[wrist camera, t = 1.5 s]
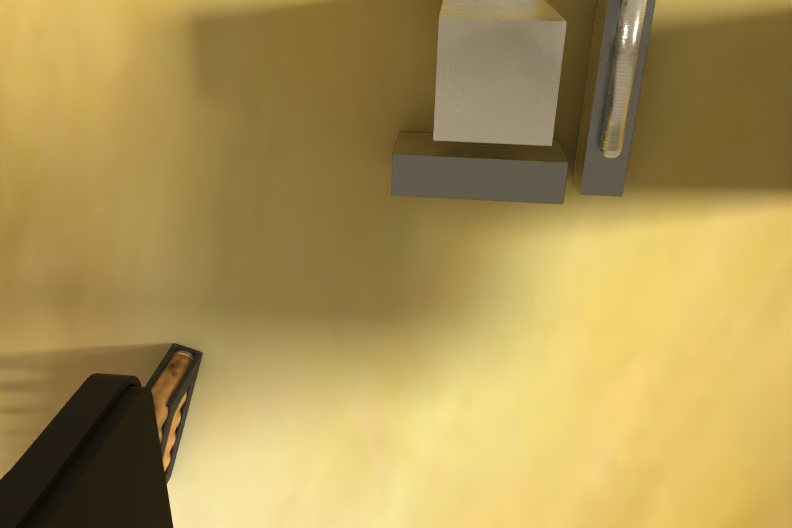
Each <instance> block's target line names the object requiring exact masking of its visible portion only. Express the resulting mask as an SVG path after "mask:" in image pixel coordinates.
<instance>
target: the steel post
mask: <svg viewBox="0 0 792 528" xmlns="http://www.w3.org/2000/svg"><path fill="white" fill-rule="evenodd" d="M566 26H567V21H566V20H565V19H564V18H563V17H562V16H561V15H560V14H558V13H557V12H556V11H555V10H554V9H553V8H552V7H551V6H550V5H549V4H548V3H547V2H546V1H545V0H443V1H442V6H441V10H440V15H439V28H438V49H437V70H436V90H435V111H434V131H433V140H435V141H456V142H478V143H499V144H520V145H542V146H552V140H553V132H554V124H555V116H556V107H557V99H558V91H559V83H560V75H561V67H562V58H563V50H564V42H565V34H566Z"/></svg>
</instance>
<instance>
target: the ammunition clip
mask: <svg viewBox="0 0 792 528" xmlns="http://www.w3.org/2000/svg"><path fill="white" fill-rule="evenodd" d="M202 354H203V353H201V352H199V351H196V350H193V349H190V348H187V347H184V346H180V345H177V344H173V345H172V346H171V348H170V349H169V351H168V352H167V354H166V356H165V357H164V359H163V360H162V362H161V363H160V365H159V366H158V368H157V369H156V371H155V372H154V374H153V375H152V377H151V379H150V380H149V382H148V383H147V385H146V386H145V387H147V388H149V389H150V390H151V392H152V395H153V400H154V406H155V413H156V419H157V426H158V432H159V439H160V445H161V452H162V458H163V465H164V471H165V477H166V484H167V483H168V481H169V479H170V477H171V474H172V470H173V467H174V463H175V459H176V455H177V451H178V447H179V443H180V439H181V436H182V432H183V428H184V424H185V420H186V416H187V412H188V409H189V405H190V401H191V397H192V393H193V389H194V385H195V381H196V378H197V374H198V370H199V366H200V362H201V358H202Z"/></svg>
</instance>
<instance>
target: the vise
mask: <svg viewBox="0 0 792 528" xmlns="http://www.w3.org/2000/svg"><path fill="white" fill-rule="evenodd" d="M654 6H655V0H597V4H596V12H595V19H594V26H593V34H592V41H591V48H590V55H589V63H588V70H587V77H586V84H585V92H584V99H583V106H582V113H581V121H580V128H579V135H578V143H577V150H576V157H575V164H574V172H573V180H574V182H575V184H576V186H577V189H578V191H579V193H580V194H585V195H604V196H622V194H623V188H624V182H625V176H626V170H627V164H628V158H629V153H630V147H631V141H632V135H633V129H634V123H635V117H636V112H637V106H638V100H639V94H640V88H641V82H642V77H643V71H644V65H645V59H646V53H647V47H648V41H649V36H650V30H651V24H652V18H653V12H654ZM567 170H568V161H567V158H566V156H565V154H564V152H563V149H562V147H561V145H560V143H559V140H558V139H554V138H553V140H552V146H542V145H520V144H499V143H478V142H456V141H435V140H433V133H424V132H402V131H399V133H398V137H397V140H396V144H395V147H394V151H393V154H392V192H391V195H395V196H415V197H434V198H453V199H472V200H492V201H511V202H530V203H550V204H563V200H564V192H565V185H566V177H567Z"/></svg>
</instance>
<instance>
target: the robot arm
mask: <svg viewBox="0 0 792 528" xmlns="http://www.w3.org/2000/svg"><path fill="white" fill-rule="evenodd" d="M0 528H173V523H172V516H171V510H170V503H169V497H168V490H167V484H166V477H165V471H164V465H163V458H162V452H161V445H160V439H159V432H158V426H157V419H156V413H155V406H154V400H153V395H152V392H151V390H150V389H149V388H147V387H141V383H140V381H139V379H138V378H137V377H135V376H128V375H115V374H101V373H96V374H92V375H91V376H90V377H89V378H87V380H86V381H85V382H84V383H83V384H82V385H81V387H80V388H79V389H78V390H77V391H76V393H75V394H74V395H73V396H72V397H71V399H70V400H69V401H68V402H67V403H66V404H65V406H64V407H63V408H62V409H61V410H60V412H59V413H58V414H57V415H56V416H55V418H54V419H53V420H52V421H51V422H50V424H49V425H48V426H47V427H46V428H45V429H44V431H43V432H42V433H41V434H40V435H39V437H38V438H37V439H36V440H35V441H34V443H33V444H32V445H31V446H30V447H29V448H28V450H27V451H26V452H25V453H24V454H23V456H22V457H21V458H20V459H19V460H18V462H17V463H16V464H15V465H14V466H13V468H12V469H11V470H10V471H9V472H8V473H7V474H5V475H4V476H3V477H2V478H1V480H0Z"/></svg>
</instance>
